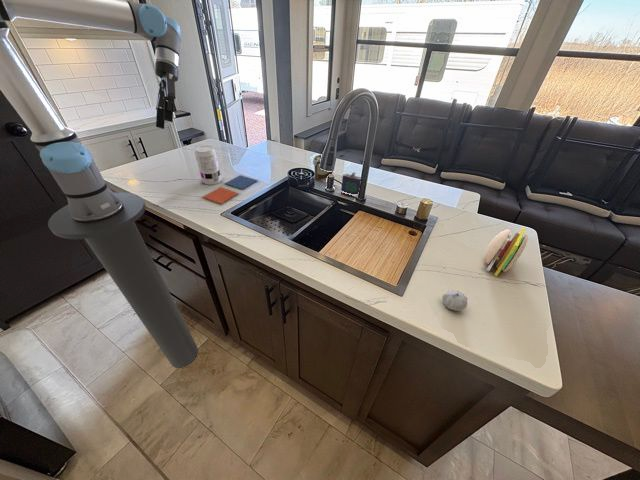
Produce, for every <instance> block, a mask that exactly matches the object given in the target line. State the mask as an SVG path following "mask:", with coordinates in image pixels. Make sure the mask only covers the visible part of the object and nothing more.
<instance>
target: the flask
mask: <svg viewBox="0 0 640 480" xmlns="http://www.w3.org/2000/svg"><path fill="white" fill-rule="evenodd" d="M356 174H357V173H356V172H352V173H351V174H350V173H344V174H343V175H342V180H341V188H340V195H343V196H345V197H350V198H353V197H352V195H349V194H345V193H342V192H341V190H342V191H344V192H347V193H351V194H358V192H359V188H360V181H361V177H362V176H357V175H356Z"/></svg>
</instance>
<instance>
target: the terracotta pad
mask: <svg viewBox="0 0 640 480" xmlns="http://www.w3.org/2000/svg"><path fill="white" fill-rule="evenodd" d="M238 195H239V193H238V192H235V191H234V190H233V191H232V190H229V189H226V188H223V187H218V188H217V189H215V190H213V191H211V192H209V193H207V194H205V195H204V196H202V199H204V200H207V201H210V202H214V203H216V204H219V205H223V204H225V203H226V202H227V201H229V200H231V199H233V198H234V197H236V196H238Z"/></svg>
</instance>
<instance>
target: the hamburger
mask: <svg viewBox="0 0 640 480" xmlns="http://www.w3.org/2000/svg"><path fill="white" fill-rule="evenodd" d="M526 230H527V228H526V227H522V228H521V230H520V231H519V232H516V233H515V234H514V235H513V233H511V231H512V229H504V230H502V231H500V232H499V233H498V234H496V236H494V238H492V240H491V241H490V242H489V244H488V246H487V248H486V250H485V254H484V261H485V263H486V264H488V266H487V268H486V271H487V272H490V271H491V270H492V267H493V266H494V264H495V266H494V267H495V268H496V271H495V272H494V274H493V275H494V276H495V277H498V275H499V274H500V273H501V272H502V273H505V272H507V271H509V270H510V269H511V268H512V267H513V266H514V265H515V264H516V262H517V261H518V260H519V258H520V257H521V256H522V254H523V252H524V250H525V248H526V246H527V243H528V237H529V236H528V234H525V232H526ZM524 234H525V235H524ZM512 236H513V237H512ZM511 237H512V238H511ZM510 239H511V240H510ZM498 258H499V259H498ZM497 259H498V261H497ZM496 261H497V262H496ZM495 262H496V263H495Z"/></svg>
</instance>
